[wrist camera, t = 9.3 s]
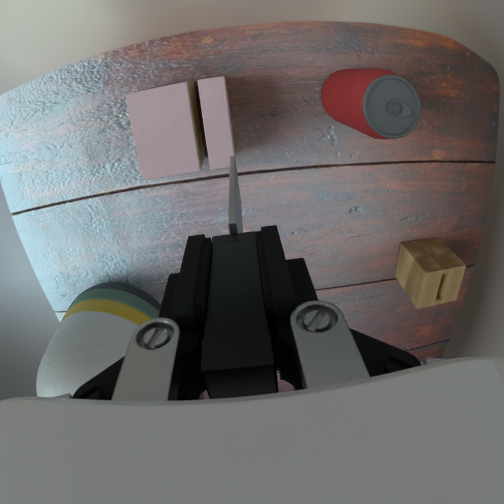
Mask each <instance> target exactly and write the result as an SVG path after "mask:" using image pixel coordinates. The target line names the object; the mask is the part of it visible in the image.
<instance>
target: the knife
mask: <svg viewBox="0 0 504 504" xmlns="http://www.w3.org/2000/svg"><path fill="white" fill-rule="evenodd" d="M228 226H229V232H230V234H229V235H221V236H214V237H212V241H211V242H212V246H211V256H210V265H209V275H208V285H207V296H206V307H205V317H204V320H203V332H202V344H201V356H200V369H199V371H200V374H201V376H202V379H203V382H204V385H205V387H206V390H207V392H208V395H209V398H210V399H221V398H234V397H245V396H255V395H264V394H273V393H278V382H277V372H276V362H275V355H274V348H273V341H272V334H271V327H270V320H269V313H268V311H267V310H266V306H265V298H264V291H263V284H262V276H261V269H260V262H259V254H258V247H257V240H256V232H255V231H253V232H245V233H243V224H242V209H241V198H240V190H239V183H238V175H237V168H236V160H235V156H230V178H229V212H228Z"/></svg>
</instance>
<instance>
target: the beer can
mask: <svg viewBox="0 0 504 504" xmlns="http://www.w3.org/2000/svg"><path fill="white" fill-rule="evenodd" d="M321 99H322V103H323V106H324V108H325V110H326V111H327V113H328V114H329V115H330V116H331V117H332V118H333V119H335V120H336V121H338V122H341V123H343V124H345V125H347V126H349V127H351V128H353V129H355V130H358V131H360V132H362V133H364V134H366V135H368V136H370V137H373V138H376V139H391V138H392V139H396V138H400V137H404V136H405V135H407V134H408V133H410V132H411V131H412V130H413V129H414V127H415V126H416V125H417V122H418V120H419V117H420V109H421V105H420V100H419V96H418V94H417V92H416V90H415V88H414V87H413V86H412V85H411V84H410V83H409V82H408V81H407V80H405V79H404V78H402V77H401V76H399V75H397V74H395V73H393V72H391V71H389V70H384V69H344V70H340V71H336V72H335V73H333V74H331V75H330V76H329V77H328V78H327V80H326V81H325V82H324V85H323V88H322V95H321Z"/></svg>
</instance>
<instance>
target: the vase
mask: <svg viewBox="0 0 504 504" xmlns="http://www.w3.org/2000/svg"><path fill="white" fill-rule="evenodd" d="M160 308H161V306H160V304H159V303H158V302H157V301H156V300H155V299H153V298H152V297H151V296H150V295H148V294H147V293H145V292H143V291H142V290H140V289H138V288H135V287H133V286H130V285H126V284H121V283H103V284H98V285H95V286H93V287H90V288H88V289H87V290H85V291H84V292H82V293H81V294H80V295H79V296H78V297H77V298H76V299H75V300H74V301H73V302H72V304H71V305H70V307H69V309H68V310H67V312H66V314H65V315H64V317H63V319H62V321H61V323H60V325H59V326H58V328H57V330H56V332H55V334H54V336H53V338H52V340H51V342H50V344H49V346H48V348H47V350H46V352H45V354H44V356H43V358H42V361H41V363H40V366H39V369H38V374H37V382H36V384H37V385H36V388H37V396H38V397H55V396H59V395H63V394H67V393H70V394H71V396H73V395H74V393H75V392H76V390H77V389H78V388H79V387H80V386H82V385H83V384H84V383H86V382H87V381H89V380H90V379H92V378H93V377H94V376H96V375H97V374H99V373H100V372H102V371H103V370H105V369H106V368H108V367H109V366H111V365H112V364H113V363H115V362H116V361H118V360H119V359H121V358H122V357H124V356H125V354H126V351H127V348H128V345H129V342H130V339H131V336H132V334H133V332H134V330H135V329H136V328H137V327H138V326H139V325H141V324H142V323H144V322H146V321H148V320H151V319H155V318H158V316H159V312H160Z"/></svg>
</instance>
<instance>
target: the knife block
mask: <svg viewBox="0 0 504 504" xmlns="http://www.w3.org/2000/svg"><path fill="white" fill-rule="evenodd" d="M465 268H466V265H465V264H464V263H463V262H462V261H461V260H460V259H459V258H458V257H457V256H456V255H455V254H454V253H453V252H452V251H451V250H450V249H449V248H448V247H447V246H446V245H445V244H444V243H443V242H442V241H441V240H440V239H439V238H431V239H424V240H415V241H408V242H400V248H399V255H398V262H397V268H396V275H395V277H396V278H397V280H398V281H399V283H400V284H401V286H402V287H403V289H404V290H405V292H406V293H407V295H408V296H409V298H410V299H411V301H412V302H413V304H414V305H415V307H416V308H417V309H420V308H425V307H429V306H434V305H438V304H442V303H446V302H450V301H455V300H456V298H457V295H458V292H459V289H460V285H461V282H462V278H463V275H464V271H465Z"/></svg>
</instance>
